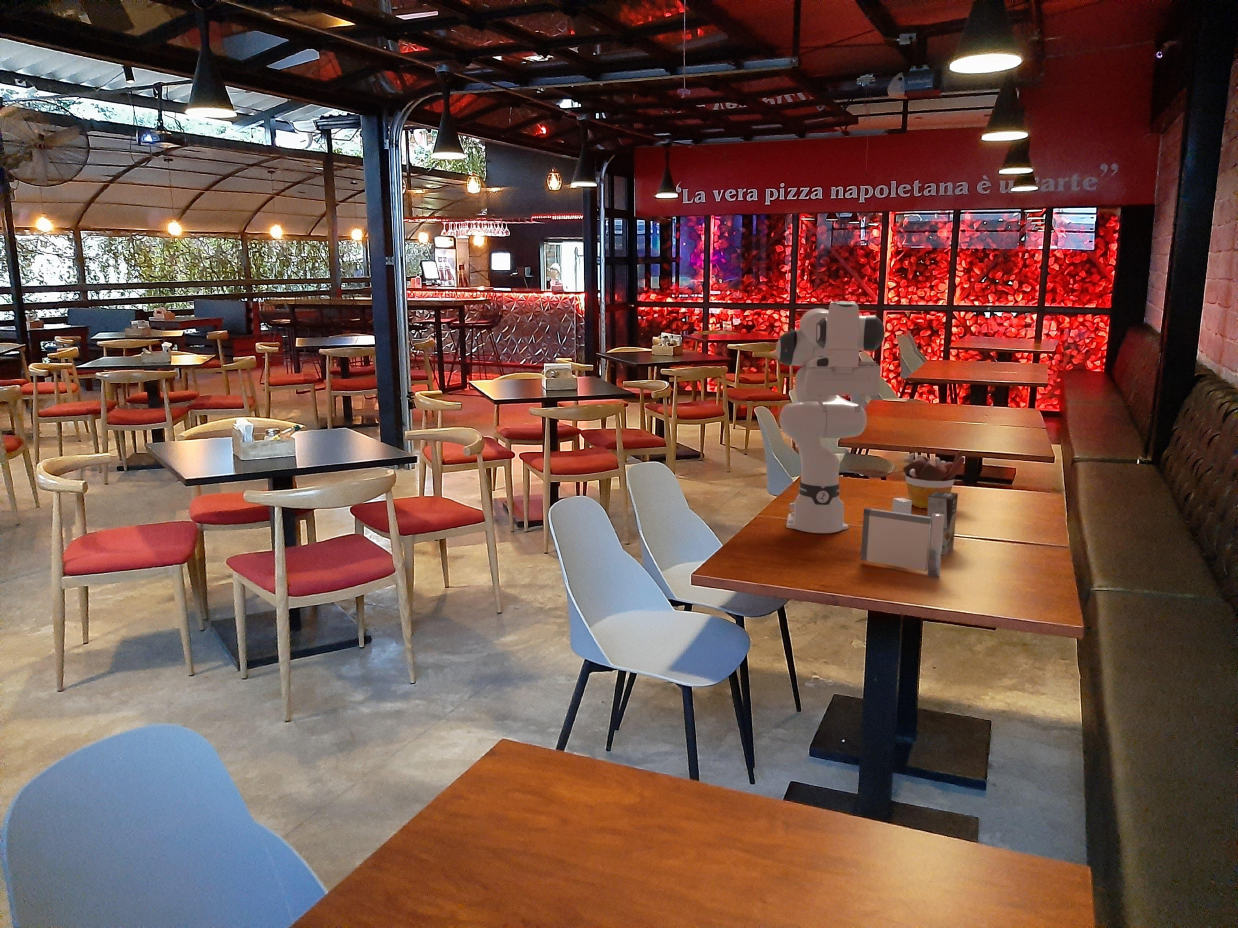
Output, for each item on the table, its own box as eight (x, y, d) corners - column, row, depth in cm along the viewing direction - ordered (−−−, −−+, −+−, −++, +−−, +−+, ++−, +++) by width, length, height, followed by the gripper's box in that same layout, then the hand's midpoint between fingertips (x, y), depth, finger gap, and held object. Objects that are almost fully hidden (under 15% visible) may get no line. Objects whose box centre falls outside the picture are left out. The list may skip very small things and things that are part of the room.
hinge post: (925, 573, 232) (930, 513, 229) (937, 573, 232) (942, 513, 229) (929, 577, 229) (933, 516, 226) (941, 577, 229) (946, 516, 226)
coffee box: (947, 555, 248) (951, 499, 245) (923, 552, 251) (927, 496, 248) (953, 548, 256) (958, 492, 253) (930, 544, 259) (934, 490, 256)
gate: (927, 569, 232) (931, 517, 229) (925, 571, 230) (929, 518, 228) (862, 558, 241) (865, 507, 238) (860, 560, 240) (863, 508, 237)
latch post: (907, 558, 245) (911, 500, 242) (898, 559, 244) (902, 501, 241) (898, 554, 249) (902, 497, 246) (889, 555, 248) (893, 498, 245)
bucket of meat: (896, 508, 302) (900, 450, 299) (901, 498, 317) (905, 442, 314) (960, 514, 295) (965, 454, 291) (961, 504, 310) (966, 447, 306)
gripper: (877, 361, 247) (875, 412, 249) (802, 361, 248) (801, 411, 249) (883, 361, 241) (881, 413, 242) (806, 360, 242) (805, 412, 243)
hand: (840, 412), depth 246 cm, fingers open, 8 cm apart
